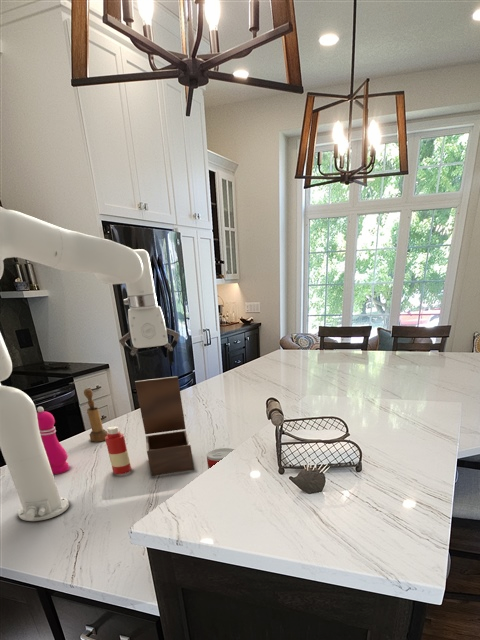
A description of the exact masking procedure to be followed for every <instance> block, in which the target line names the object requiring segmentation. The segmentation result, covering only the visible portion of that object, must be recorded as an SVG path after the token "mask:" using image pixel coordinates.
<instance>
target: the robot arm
mask: <svg viewBox="0 0 480 640" xmlns="http://www.w3.org/2000/svg"><path fill="white" fill-rule="evenodd" d="M10 258H18V259H22V260H25V261H29V262H33V263H37V264H40V265H43V266H46V267H50V268H52V269H56V270H59V271H64V272H70V273H93V276H94V277H95V278H96V279H97V280H98V281H99V282H100V283H103V284H105V285H122V284H123V285H124V284H125V287H126V293H127V298H124V299H123V304H124V305H126V306H128V307H129V308H128V310H127V314H128V315H127V318H128V326H129V331H128V332H127V333H125V335H123V336H122V337H121V338H119V340H118V341H119V344H120V345H121V347H122V348H123V349H124V350H125V351H126V352H127V353H128V354H130V355H131V356H132V362H133V366H134V367H136V370H138V371H139V370H140V368H141V367H140V362H139V361H140V360H139V357H138V354H137V352H138V350H139V349H143V348H152V347H153V348H154V347H161V346H164V347H165V348H166V349H167V351H166V352H167V358H168V364H169V366H171V367H173V363H175V360H174V353H173V351H174V349H175V347H176V346H177V345H178V342H179V339H180V333H179V332H177V331H175V330H173V329H170V328H168V327H167V326H166V321H165V318H164V314H163V311H162V308H161V306H160V305H158V301H157V295H156V289H155V281H154V278H153V276H154V275H153V270H152V265H151V259H150V254H149V252H148V251H147V250H145V249H143V248H141V249H140V248H138V249H133V248H131V247H129V246H126V245H124V244H121V243H119V242H116V241H113V240H111V239H106V238H103V237H99V236H94V235H90V234H86V233H83V232H79V231H75V230H70V229H66V228H63V227H60V226H58V225H55V224H52V223H50V222H47V221H45V220H41V219H39V218H36V217H34V216H31V215H29V214H26V213H23V212H20V211H18V210H13V209H1V210H0V280H1V279H2V277H3V275H4V269H5V265H4V264H5V263H4V260H5V259H10ZM168 335H170V336H173V339H172V341H171V343H169V338H168V337H169V336H168ZM130 338H131V343H132V345H133V346H132V347H131V346H129V345H128V344H127V343H126V341H128V340H129V339H130ZM12 372H13V362H12V358H11V356H10V353H9V350H8V347H7V346H6V343H5V340H4V337H3V335H2V333H1V331H0V451H1V454H2V456H3V459H4V462H5V464H6V467H7V470H8V472H9V475H10V477H11V480H12V483H13V485H14V489H15V491H16V493H17V497H18V499H19V501H20V504H21V507H19V508H18V510H17V515H18V518H19V519H21V520H23V521H26V522H40V521H44V520H48V519H49V520H50V519H53V518H55V517H57V516H59V515H61V514H63V513H65V512H66V511H67V510H68V508H69V506H70V503H69V500H68V499H67V498H65V497H62V496H61V494H60V492H59V489H58V486H57V482H56V480H55V477H54V474H53V473H52V470H51V467H50V464H49V460H48V457H47V454H46V451H45V448H44V445H43V440H42V437H41V435H40V431H39V426H38V418H37V413H38V411H37V407H36V405H35V403H34V401H33V400H32V398H31V397H30V396H29V395H28V394H27V393H26V392H24V391H22V390H21V389H19V388H16V387H13V386H7V385H3V384H2V383H1V382H3V381H5V380H7V379H9V377H10V376H11V374H12Z"/></svg>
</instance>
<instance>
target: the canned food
mask: <svg viewBox="0 0 480 640" xmlns="http://www.w3.org/2000/svg"><path fill="white" fill-rule="evenodd" d="M233 450H235V449H234V448H229V447H221V448H215V449H212V450H209V451H208V452H207V453H206V462H207V470H208V469H209V468H211V467H212V466H213V465H215V464H216V463H217V462H219V461H220V460H222V459H223V458H224V457H226V456H227V455H228V454H229V453H230V452H232V451H233Z"/></svg>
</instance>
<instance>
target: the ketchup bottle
mask: <svg viewBox="0 0 480 640" xmlns="http://www.w3.org/2000/svg"><path fill="white" fill-rule="evenodd" d="M106 431H107V432H108V433H107V436H106V437H105V440H104V441H105V443H106V448H107V452H108V458H109V461H110V465H111V469H112V473H113V474H114V475H124V474H128V473H131V471H132V466H131V465H132V464H131V461H130V456H129V452H128V451H129V450H128V447H127V443H126V439H125V435H124V433H121V431H120V430H119V427H118V426H115V425H114V426H108V427H107V428H106Z"/></svg>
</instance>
